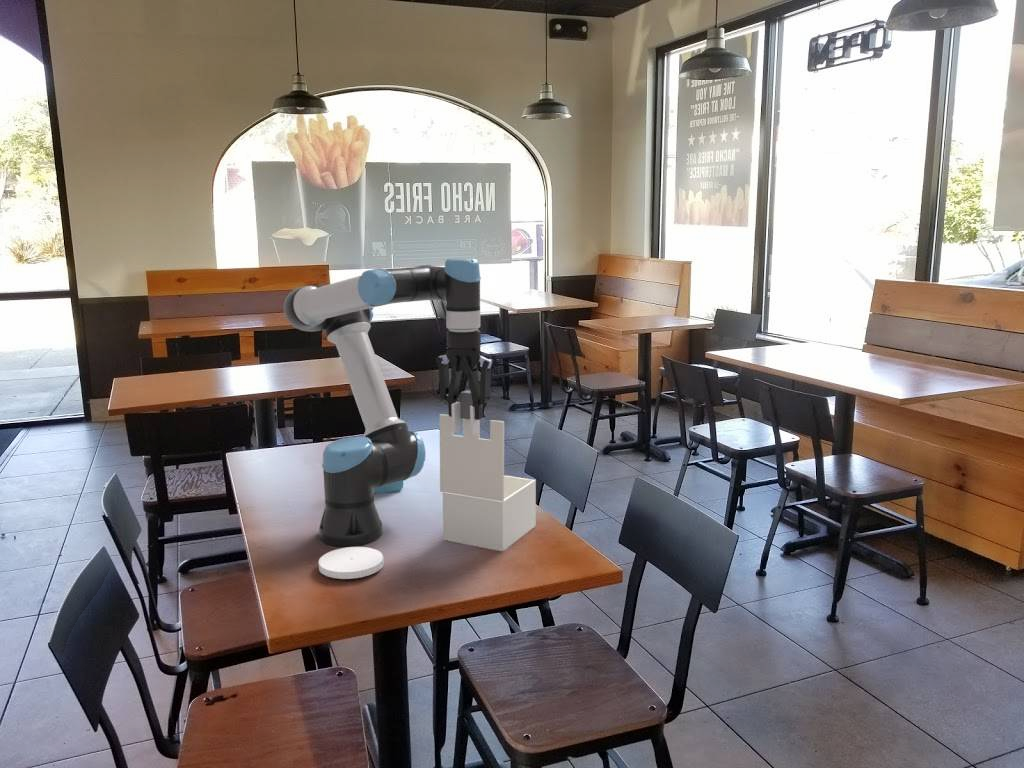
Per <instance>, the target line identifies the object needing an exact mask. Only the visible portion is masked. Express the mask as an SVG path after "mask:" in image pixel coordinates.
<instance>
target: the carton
mask: <svg viewBox="0 0 1024 768" xmlns="http://www.w3.org/2000/svg"><path fill="white" fill-rule="evenodd" d="M536 480H537V479H532V478H523V477H518V476H512V475H505V474H504V501H503V502H501V501H495V500H489V499H483V498H477V497H470V496H464V495H458V494H452V493H446V492H442V523H443V525H442V528H443V529H442V533H443V534H442V535H443V541H446V540H448V542H451V541H452V543H458V544H463V545H466V546H467V545H468V546H473V547H477V546H478V548H483V549H487V550H488V549H489V550H493V551H499V552H504V551H506V550H507V549H508V548H509V547H511V546H512V545H513V544H515V543H516V542H518V540H519V539H521V538H522V537H524V536H525V535H526V534H528V533H529V531H531V530H532V529H533V528H535V527H536V525H537V523H536V521H537V520H536V518H537V515H536V513H537V511H536V505H537V503H536V501H537V498H536V497H537V493H536V492H537V490H536V489H537V487H536V486H537V481H536Z"/></svg>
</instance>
